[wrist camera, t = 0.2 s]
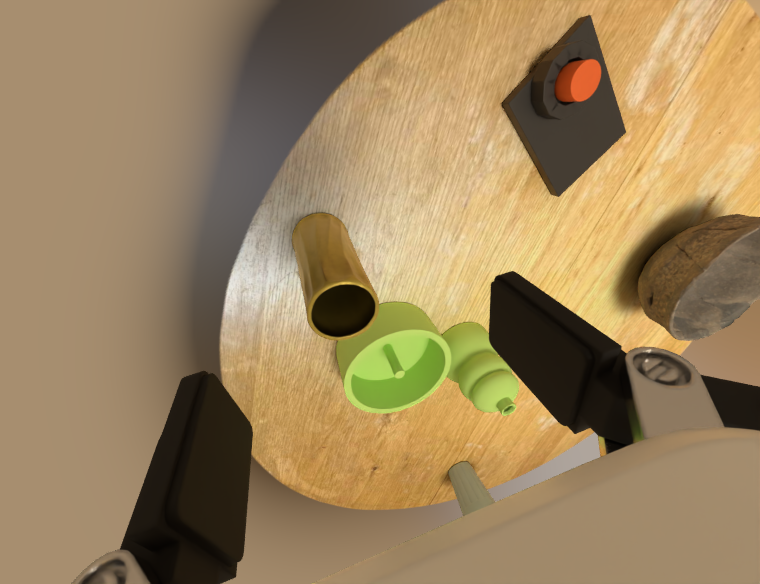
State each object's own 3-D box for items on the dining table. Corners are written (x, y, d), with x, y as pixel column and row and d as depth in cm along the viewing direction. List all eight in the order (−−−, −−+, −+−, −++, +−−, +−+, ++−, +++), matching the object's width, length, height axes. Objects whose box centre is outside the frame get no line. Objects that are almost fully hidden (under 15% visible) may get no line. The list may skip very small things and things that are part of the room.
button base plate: (498, 99, 31) (517, 98, 28) (578, 11, 29) (606, 3, 26) (551, 194, 39) (570, 200, 36) (617, 131, 37) (641, 133, 34)
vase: (357, 249, 35) (396, 321, 23) (310, 274, 35) (326, 358, 23) (332, 202, 31) (364, 259, 20) (280, 229, 31) (281, 302, 20)
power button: (549, 81, 29) (566, 80, 27) (576, 52, 28) (595, 49, 26) (561, 109, 30) (577, 109, 29) (587, 82, 30) (605, 81, 28)
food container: (327, 381, 44) (342, 465, 34) (348, 298, 38) (374, 369, 28) (466, 378, 54) (511, 442, 43) (502, 310, 47) (564, 367, 37)
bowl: (633, 216, 45) (713, 241, 37) (741, 183, 48) (837, 199, 40) (599, 322, 56) (654, 358, 48) (688, 290, 59) (753, 319, 51)
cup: (457, 457, 68) (483, 507, 59) (479, 459, 72) (506, 507, 63) (437, 477, 70) (459, 528, 62) (460, 478, 74) (483, 527, 66)
